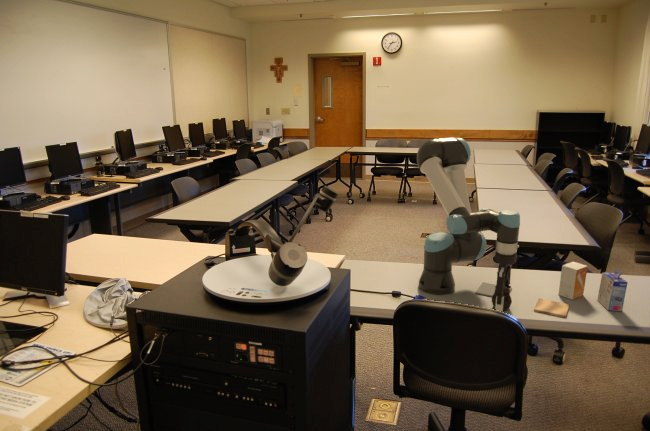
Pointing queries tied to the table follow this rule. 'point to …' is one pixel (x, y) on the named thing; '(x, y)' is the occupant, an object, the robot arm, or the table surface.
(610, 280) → the ink cartridge box
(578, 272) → the small box
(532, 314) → the table surface
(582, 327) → the table surface
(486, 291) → the felt pad
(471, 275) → the table surface
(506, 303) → the mate gourd
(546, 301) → the square wooden coaster
